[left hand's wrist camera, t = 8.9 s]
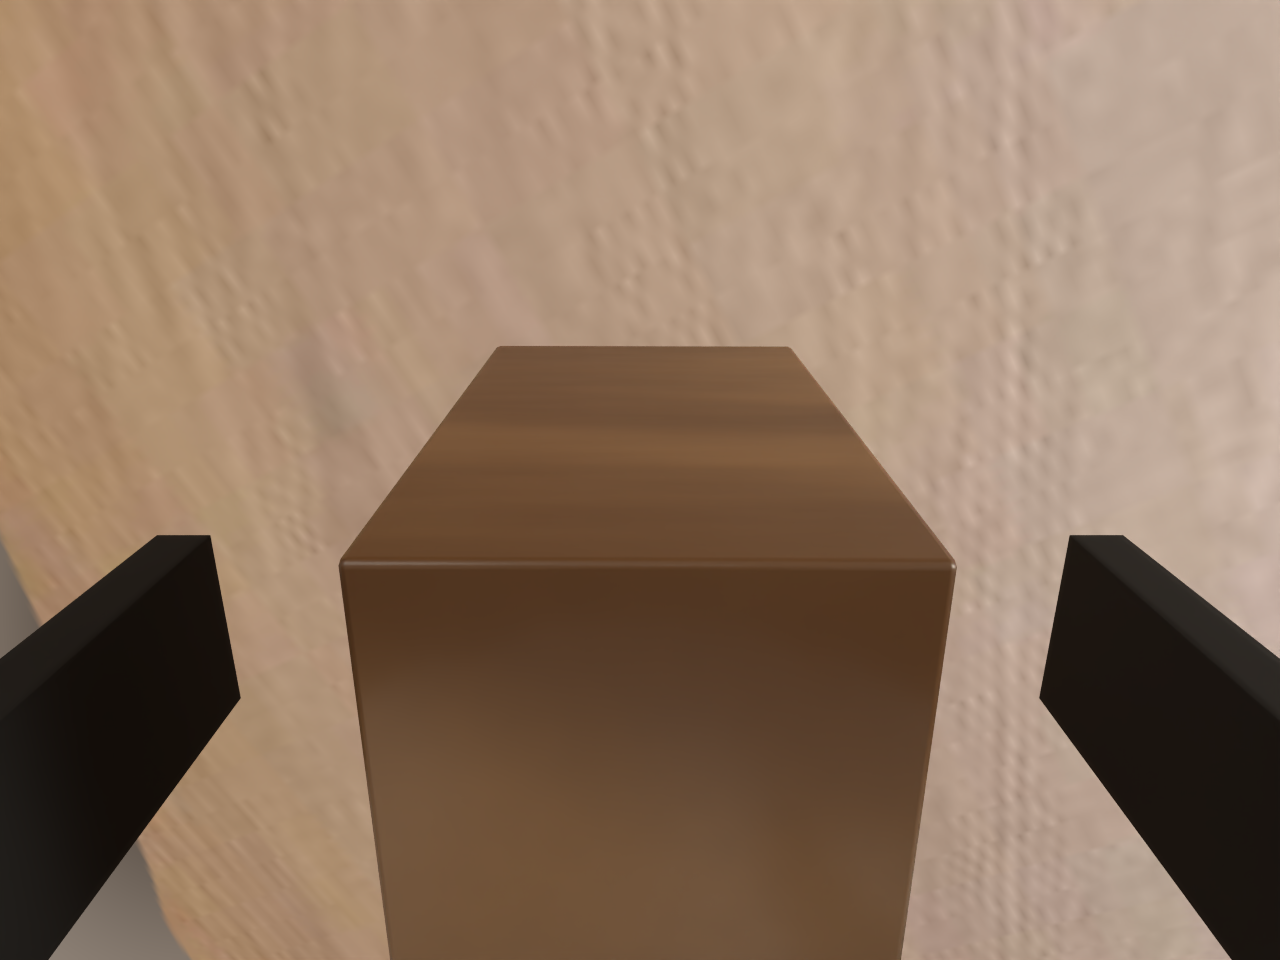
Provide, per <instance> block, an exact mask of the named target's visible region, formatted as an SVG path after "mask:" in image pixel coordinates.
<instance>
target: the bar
mask: <svg viewBox="0 0 1280 960" xmlns="http://www.w3.org/2000/svg"><path fill="white" fill-rule="evenodd" d="M956 569H957V566H956V563H955V560H954V559H953V557H952V556H951V555H950V554H949V552H948V551H947V550H946V548H945V547H944V546H943V545H942V543H941V542H940V541H939V539H938V538H937V537H936V535H935V534H934V533H933V532H932V530H931V529H930V528H929V526H928V525H927V524H926V523H925V521H924V520H923V519H922V517H921V516H920V515H919V513H918V512H917V511H916V510H915V508H914V507H913V506H912V504H911V503H910V502H909V501H908V499H907V498H906V497H905V495H904V494H903V493H902V491H901V490H900V489H899V488H898V486H897V485H896V484H895V482H894V481H893V480H892V479H891V477H890V476H889V475H888V473H887V472H886V471H885V469H884V468H883V467H882V466H881V464H880V463H879V462H878V460H877V459H876V458H875V457H874V455H873V454H872V453H871V451H870V450H869V449H868V447H867V446H866V445H865V444H864V442H863V441H862V440H861V438H860V437H859V436H858V435H857V433H856V432H855V431H854V429H853V428H852V427H851V425H850V424H849V423H848V422H847V420H846V419H845V418H844V416H843V415H842V414H841V413H840V411H839V410H838V409H837V407H836V406H835V405H834V403H833V402H832V401H831V400H830V398H829V397H828V396H827V394H826V393H825V392H824V391H823V389H822V388H821V387H820V385H819V384H818V383H817V381H816V380H815V379H814V378H813V376H812V375H811V374H810V372H809V371H808V370H807V369H806V367H805V366H804V365H803V363H802V362H801V361H800V360H799V358H798V357H797V356H796V354H795V353H794V352H793V350H792V349H791V348H789V347H656V346H500V347H497V348H496V350H495V351H494V352H493V354H492V355H491V356H490V358H489V359H488V361H487V362H486V363H485V365H484V366H483V367H482V369H481V370H480V371H479V373H478V374H477V375H476V377H475V378H474V379H473V381H472V382H471V383H470V385H469V386H468V388H467V389H466V390H465V392H464V393H463V394H462V396H461V397H460V398H459V400H458V401H457V402H456V404H455V405H454V406H453V408H452V409H451V411H450V412H449V413H448V415H447V416H446V417H445V419H444V420H443V421H442V423H441V424H440V425H439V427H438V428H437V429H436V431H435V432H434V434H433V435H432V436H431V438H430V439H429V440H428V442H427V443H426V444H425V446H424V447H423V448H422V450H421V451H420V452H419V454H418V455H417V457H416V458H415V459H414V461H413V462H412V463H411V465H410V466H409V467H408V469H407V470H406V471H405V473H404V474H403V475H402V477H401V478H400V479H399V481H398V482H397V484H396V485H395V486H394V488H393V489H392V490H391V492H390V493H389V494H388V496H387V497H386V498H385V500H384V501H383V502H382V504H381V505H380V507H379V508H378V509H377V511H376V512H375V513H374V515H373V516H372V517H371V519H370V520H369V521H368V523H367V524H366V525H365V527H364V528H363V530H362V531H361V532H360V534H359V535H358V536H357V538H356V539H355V540H354V542H353V543H352V544H351V546H350V547H349V548H348V550H347V551H346V552H345V554H344V555H343V557H342V558H341V560H340V563H339V573H340V580H341V588H342V595H343V603H344V611H345V618H346V626H347V634H348V641H349V649H350V656H351V664H352V672H353V679H354V687H355V695H356V702H357V710H358V717H359V725H360V733H361V740H362V748H363V756H364V763H365V771H366V778H367V786H368V794H369V801H370V809H371V817H372V824H373V832H374V839H375V847H376V855H377V862H378V870H379V878H380V885H381V893H382V900H383V908H384V916H385V923H386V931H387V938H388V946H389V954H390V960H901V954H902V947H903V940H904V933H905V926H906V919H907V912H908V905H909V898H910V891H911V884H912V877H913V870H914V863H915V856H916V849H917V842H918V835H919V828H920V821H921V814H922V807H923V800H924V793H925V786H926V779H927V772H928V765H929V758H930V751H931V744H932V737H933V730H934V723H935V716H936V709H937V702H938V695H939V688H940V681H941V674H942V667H943V660H944V653H945V646H946V639H947V632H948V625H949V618H950V611H951V604H952V597H953V590H954V583H955V576H956Z"/></svg>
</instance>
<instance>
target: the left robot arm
mask: <svg viewBox="0 0 1280 960" xmlns="http://www.w3.org/2000/svg"><path fill="white" fill-rule="evenodd" d="M240 698H241V697H240V692H239V687H238V681H237V676H236V671H235V665H234V660H233V654H232V649H231V644H230V638H229V633H228V628H227V622H226V617H225V612H224V606H223V601H222V596H221V590H220V585H219V580H218V574H217V569H216V564H215V558H214V553H213V548H212V542H211V537H210V535H157V536H156V537H154V538H153V539H152V540H150V541H149V542H148V543H147V544H145V545H144V546H143V547H142V548H140V549H139V550H138V551H136V552H135V553H134V554H133V555H131V556H130V557H129V558H128V559H126V560H125V561H124V562H123V563H121V564H120V565H119V566H117V567H116V568H115V569H114V570H112V571H111V572H110V573H109V574H107V575H106V576H105V577H103V578H102V579H101V580H100V581H98V582H97V583H96V584H95V585H93V586H92V587H91V588H90V589H88V590H87V591H86V592H84V593H83V594H82V595H81V596H79V597H78V598H77V599H76V600H74V601H73V602H72V603H70V604H69V605H68V606H67V607H65V608H64V609H63V610H62V611H60V612H59V613H58V614H56V615H55V616H54V617H53V618H51V619H50V620H49V621H48V622H46V623H45V624H44V625H43V626H41V627H40V628H39V629H37V630H36V631H35V632H34V633H32V634H31V635H30V636H29V637H27V638H26V639H25V640H24V641H22V642H21V643H20V644H18V645H17V646H16V647H15V648H13V649H12V650H11V651H10V652H8V653H7V654H6V655H4V656H3V657H2V658H1V659H0V960H48V959H49V958H50V957H51V955H52V954H53V953H54V951H55V950H56V949H57V947H58V946H59V944H60V943H61V942H62V940H63V939H64V938H65V936H66V935H67V934H68V932H69V931H70V929H71V928H72V927H73V925H74V924H75V923H76V921H77V920H78V919H79V917H80V916H81V914H82V913H83V912H84V910H85V909H86V908H87V906H88V905H89V904H90V902H91V901H92V900H93V898H94V897H95V895H96V894H97V893H98V891H99V890H100V889H101V887H102V886H103V885H104V883H105V882H106V881H107V879H108V878H109V876H110V875H111V874H112V872H113V871H114V870H115V868H116V867H117V866H118V864H119V863H120V861H121V860H122V859H123V857H124V856H125V855H126V853H127V852H128V851H129V849H130V848H131V847H132V845H133V844H134V842H135V841H136V840H137V838H138V837H139V836H140V834H141V833H142V832H143V830H144V829H145V827H146V826H147V825H148V823H149V822H150V821H151V819H152V818H153V817H154V815H155V814H156V813H157V811H158V810H159V808H160V807H161V806H162V804H163V803H164V802H165V800H166V799H167V798H168V796H169V795H170V793H171V792H172V791H173V789H174V788H175V787H176V785H177V784H178V783H179V781H180V780H181V779H182V777H183V776H184V774H185V773H186V772H187V770H188V769H189V768H190V766H191V765H192V764H193V762H194V761H195V759H196V758H197V757H198V755H199V754H200V753H201V751H202V750H203V749H204V747H205V746H206V745H207V743H208V742H209V740H210V739H211V738H212V736H213V735H214V734H215V732H216V731H217V730H218V728H219V727H220V725H221V724H222V723H223V721H224V720H225V719H226V717H227V716H228V715H229V713H230V712H231V711H232V709H233V708H234V706H235V705H236V704H237V702H238V701H239V700H240ZM1039 698H1040V700H1041V701H1042V702H1043V704H1044V705H1045V706H1046V708H1047V709H1048V711H1049V712H1050V713H1051V715H1052V716H1053V717H1054V719H1055V720H1056V721H1057V723H1058V724H1059V725H1060V727H1061V728H1062V730H1063V731H1064V732H1065V734H1066V735H1067V736H1068V738H1069V739H1070V740H1071V742H1072V743H1073V745H1074V746H1075V747H1076V749H1077V750H1078V751H1079V753H1080V754H1081V755H1082V757H1083V758H1084V759H1085V761H1086V762H1087V764H1088V765H1089V766H1090V768H1091V769H1092V770H1093V772H1094V773H1095V774H1096V776H1097V777H1098V779H1099V780H1100V781H1101V783H1102V784H1103V785H1104V787H1105V788H1106V789H1107V791H1108V792H1109V793H1110V795H1111V796H1112V798H1113V799H1114V800H1115V802H1116V803H1117V804H1118V806H1119V807H1120V808H1121V810H1122V811H1123V813H1124V814H1125V815H1126V817H1127V818H1128V819H1129V821H1130V822H1131V823H1132V825H1133V826H1134V827H1135V829H1136V830H1137V832H1138V833H1139V834H1140V836H1141V837H1142V838H1143V840H1144V841H1145V842H1146V844H1147V845H1148V847H1149V848H1150V849H1151V851H1152V852H1153V853H1154V855H1155V856H1156V857H1157V859H1158V860H1159V862H1160V863H1161V864H1162V866H1163V867H1164V868H1165V870H1166V871H1167V872H1168V874H1169V875H1170V876H1171V878H1172V879H1173V881H1174V882H1175V883H1176V885H1177V886H1178V887H1179V889H1180V890H1181V891H1182V893H1183V894H1184V896H1185V897H1186V898H1187V900H1188V901H1189V902H1190V904H1191V905H1192V906H1193V908H1194V909H1195V910H1196V912H1197V913H1198V915H1199V916H1200V917H1201V919H1202V920H1203V921H1204V923H1205V924H1206V925H1207V927H1208V928H1209V930H1210V931H1211V932H1212V934H1213V935H1214V936H1215V938H1216V939H1217V940H1218V942H1219V943H1220V944H1221V946H1222V947H1223V949H1224V950H1225V951H1226V953H1227V954H1228V955H1229V957H1230V958H1231V959H1232V960H1280V659H1279V658H1278V657H1277V656H1276V655H1274V654H1273V653H1272V652H1270V651H1269V650H1268V649H1267V648H1265V647H1264V646H1263V645H1262V644H1260V643H1259V642H1258V641H1257V640H1255V639H1254V638H1253V637H1251V636H1250V635H1249V634H1248V633H1246V632H1245V631H1244V630H1243V629H1241V628H1240V627H1239V626H1237V625H1236V624H1235V623H1234V622H1232V621H1231V620H1230V619H1229V618H1227V617H1226V616H1225V615H1223V614H1222V613H1221V612H1220V611H1218V610H1217V609H1216V608H1215V607H1213V606H1212V605H1211V604H1210V603H1208V602H1207V601H1206V600H1204V599H1203V598H1202V597H1201V596H1199V595H1198V594H1197V593H1196V592H1194V591H1193V590H1192V589H1190V588H1189V587H1188V586H1187V585H1185V584H1184V583H1183V582H1182V581H1180V580H1179V579H1178V578H1177V577H1175V576H1174V575H1173V574H1171V573H1170V572H1169V571H1168V570H1166V569H1165V568H1164V567H1163V566H1161V565H1160V564H1159V563H1157V562H1156V561H1155V560H1154V559H1152V558H1151V557H1150V556H1149V555H1147V554H1146V553H1145V552H1144V551H1142V550H1141V549H1140V548H1138V547H1137V546H1136V545H1135V544H1133V543H1132V542H1131V541H1130V540H1128V539H1127V538H1126V537H1124V536H1123V535H1070V537H1069V542H1068V548H1067V553H1066V558H1065V564H1064V569H1063V574H1062V580H1061V585H1060V590H1059V596H1058V601H1057V606H1056V612H1055V617H1054V622H1053V628H1052V633H1051V638H1050V644H1049V649H1048V654H1047V660H1046V665H1045V670H1044V676H1043V681H1042V686H1041V692H1040V697H1039Z"/></svg>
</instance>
